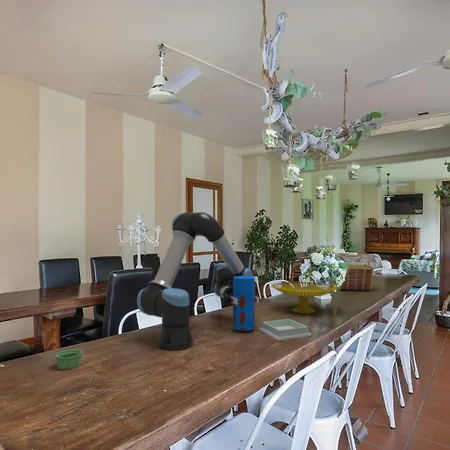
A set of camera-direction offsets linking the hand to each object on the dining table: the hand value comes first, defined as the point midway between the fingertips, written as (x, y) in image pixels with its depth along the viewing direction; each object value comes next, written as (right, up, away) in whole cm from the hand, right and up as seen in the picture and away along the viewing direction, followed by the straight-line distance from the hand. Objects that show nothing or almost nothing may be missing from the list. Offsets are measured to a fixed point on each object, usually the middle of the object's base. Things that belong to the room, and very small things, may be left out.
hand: (247, 301), depth 172 cm
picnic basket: (+96, -17, +125) cm, 159 cm away
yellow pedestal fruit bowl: (+38, -16, +47) cm, 62 cm away
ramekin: (-68, -15, -43) cm, 82 cm away
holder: (+18, -15, -1) cm, 23 cm away
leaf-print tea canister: (-2, -14, +3) cm, 15 cm away
